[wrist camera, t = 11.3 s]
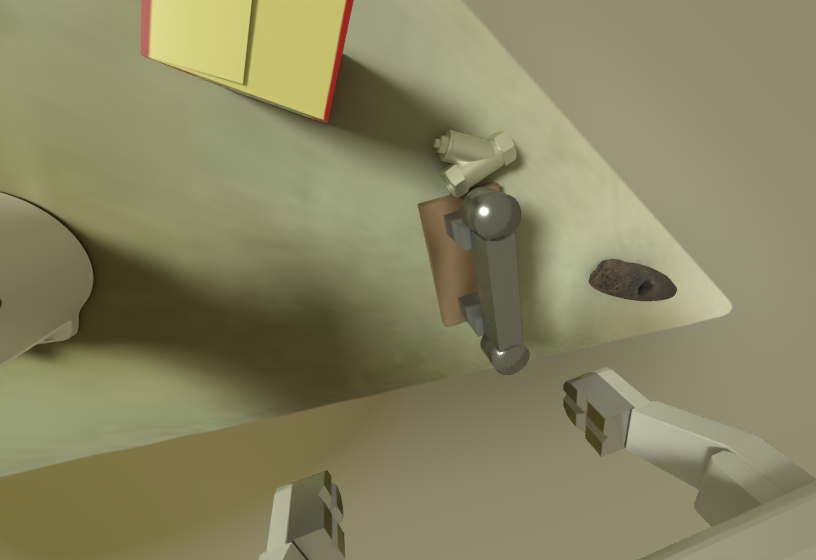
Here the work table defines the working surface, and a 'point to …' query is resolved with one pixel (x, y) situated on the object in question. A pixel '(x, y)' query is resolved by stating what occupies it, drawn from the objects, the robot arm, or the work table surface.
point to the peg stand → (452, 260)
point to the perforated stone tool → (631, 281)
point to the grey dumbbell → (497, 275)
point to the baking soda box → (253, 46)
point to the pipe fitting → (472, 158)
